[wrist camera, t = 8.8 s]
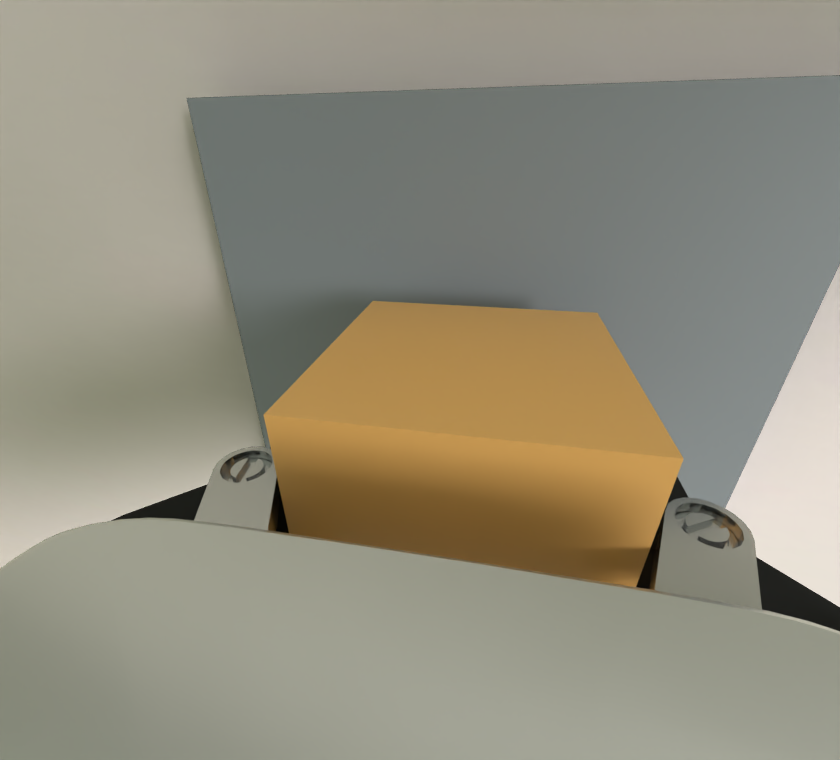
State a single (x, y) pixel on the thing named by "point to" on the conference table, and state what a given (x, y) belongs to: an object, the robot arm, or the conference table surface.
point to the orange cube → (477, 441)
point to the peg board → (544, 228)
